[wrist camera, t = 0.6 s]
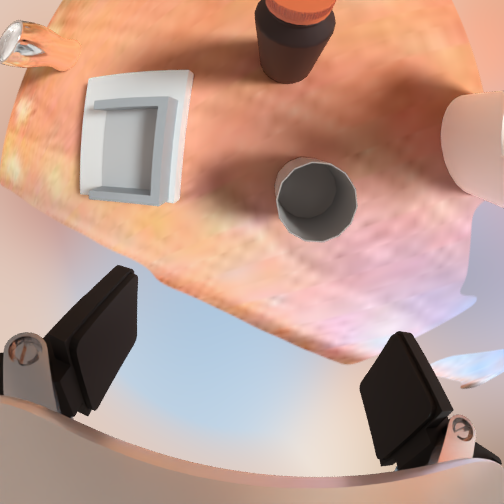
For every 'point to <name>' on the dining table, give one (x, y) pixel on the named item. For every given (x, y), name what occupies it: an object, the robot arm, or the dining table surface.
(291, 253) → the dining table surface
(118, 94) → the dock
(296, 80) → the bottle
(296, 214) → the cup
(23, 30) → the beer glass
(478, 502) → the robot arm
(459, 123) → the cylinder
